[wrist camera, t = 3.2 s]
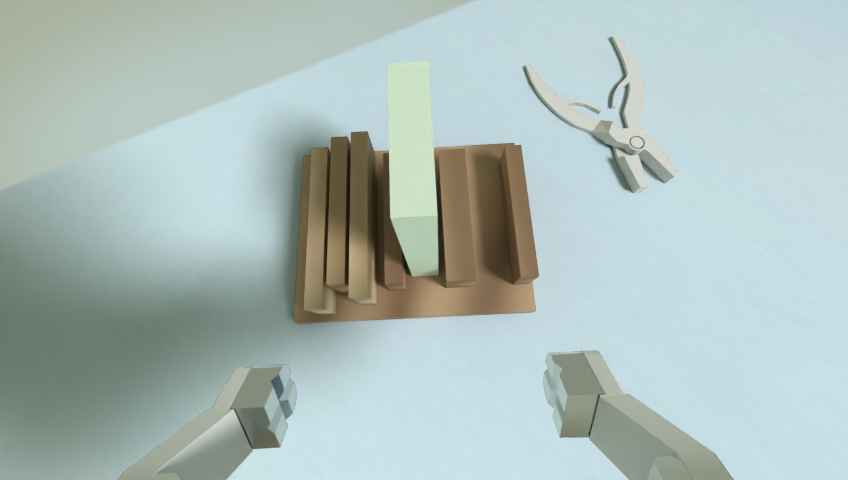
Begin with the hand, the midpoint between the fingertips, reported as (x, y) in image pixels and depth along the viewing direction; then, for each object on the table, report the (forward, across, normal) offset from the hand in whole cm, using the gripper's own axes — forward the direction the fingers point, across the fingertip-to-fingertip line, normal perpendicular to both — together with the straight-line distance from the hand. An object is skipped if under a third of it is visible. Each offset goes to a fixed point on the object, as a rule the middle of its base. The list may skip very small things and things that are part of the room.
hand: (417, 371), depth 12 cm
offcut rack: (+19, +1, +4) cm, 19 cm away
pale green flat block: (+18, 0, +4) cm, 18 cm away
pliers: (+26, -17, -2) cm, 31 cm away
